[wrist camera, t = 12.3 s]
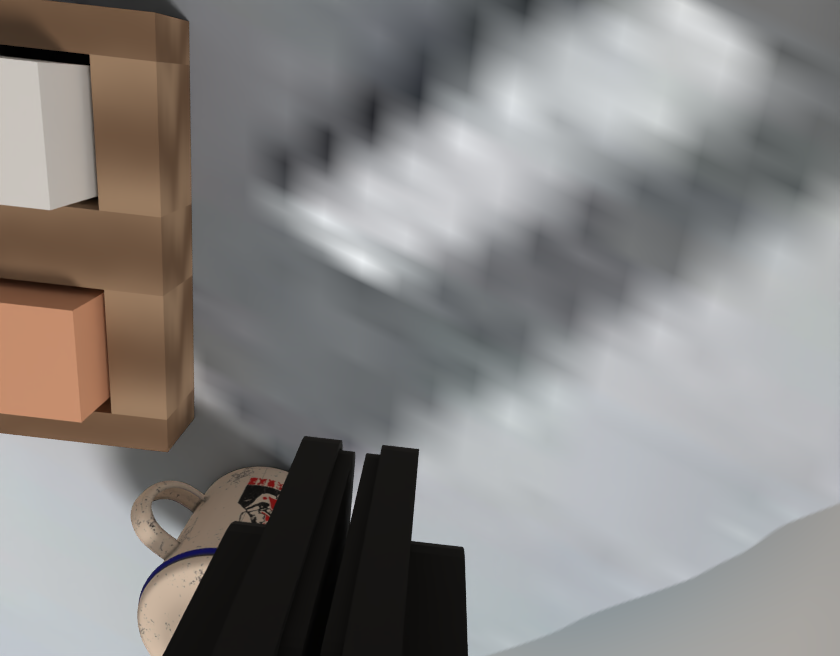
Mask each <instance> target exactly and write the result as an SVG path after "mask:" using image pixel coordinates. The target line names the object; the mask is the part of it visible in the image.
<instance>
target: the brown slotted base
mask: <svg viewBox="0 0 840 656" xmlns="http://www.w3.org/2000/svg"><path fill="white" fill-rule="evenodd" d="M0 44H2V45H11V46H20V47H29V48H38V49H47V50H56V51H65V52H74V53H83V54H90V70H91V86H92V102H93V119H94V135H95V151H96V168H97V184H98V196H96V197H93V198H90V199H86V200H83V201H80V202H76V203H73V204H69V205H66V206H63V207H59V208H56V209H53V210H44V209H35V208H26V207H17V206H8V205H0V278H6V279H15V280H24V281H32V282H41V283H50V284H59V285H68V286H76V287H85V288H94V289H103V290H104V298H105V314H106V331H107V347H108V363H109V380H110V397H109V398H108V399H107V400H106V401H105V402H104V403H103V404H102V405H100V406H99V407H98V408H97V409H96V410H95V411H94V412H93V413H92V414H90V415H89V416H88V417H87V418H86V419H85V420H84V421H83V422H82V423H80V422H72V421H63V420H54V419H46V418H37V417H28V416H19V415H11V414H2V413H0V433H5V434H13V435H22V436H31V437H40V438H48V439H57V440H66V441H74V442H83V443H92V444H101V445H109V446H118V447H127V448H135V449H144V450H153V451H162V452H168V451H169V450H170V449H171V447H172V446H173V445H174V444H175V442H176V441H177V440H178V438H179V437H180V436H181V435H182V433H183V432H184V431H185V429H186V428H187V427H188V426H189V424H190V423H191V422H192V421H193V419H194V359H193V284H192V209H191V135H190V60H189V21H185V20H181V19H177V18H174V17H170V16H166V15H162V14H159V13H155V12H146V11H137V10H128V9H119V8H110V7H101V6H92V5H83V4H74V3H65V2H56V1H47V0H0Z"/></svg>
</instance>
